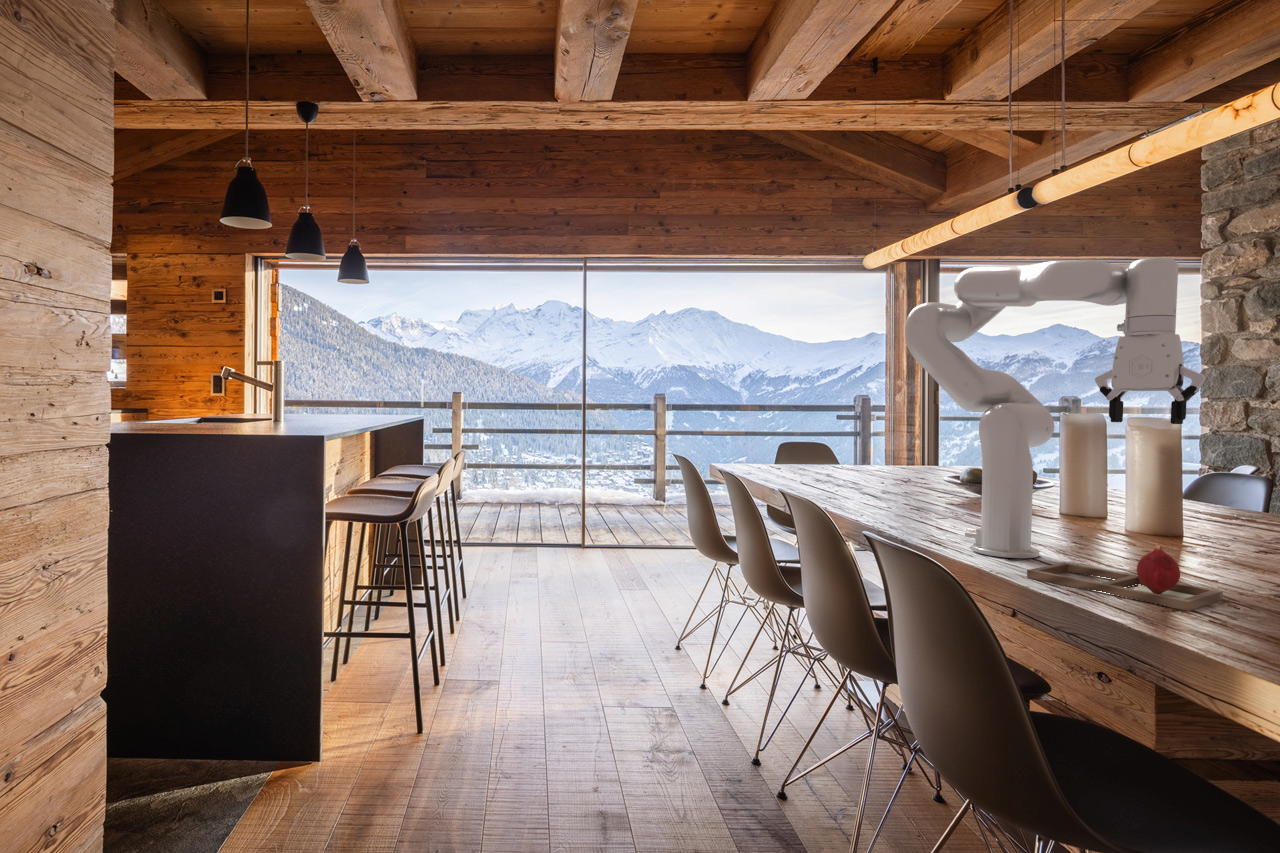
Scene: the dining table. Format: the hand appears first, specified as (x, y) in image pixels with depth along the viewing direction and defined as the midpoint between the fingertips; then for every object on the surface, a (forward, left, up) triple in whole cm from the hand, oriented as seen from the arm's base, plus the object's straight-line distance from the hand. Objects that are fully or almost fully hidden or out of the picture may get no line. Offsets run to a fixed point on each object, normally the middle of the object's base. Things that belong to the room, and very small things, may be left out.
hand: (1145, 423), depth 131 cm
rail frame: (+2, -13, -28) cm, 31 cm away
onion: (+8, -13, -28) cm, 32 cm away
